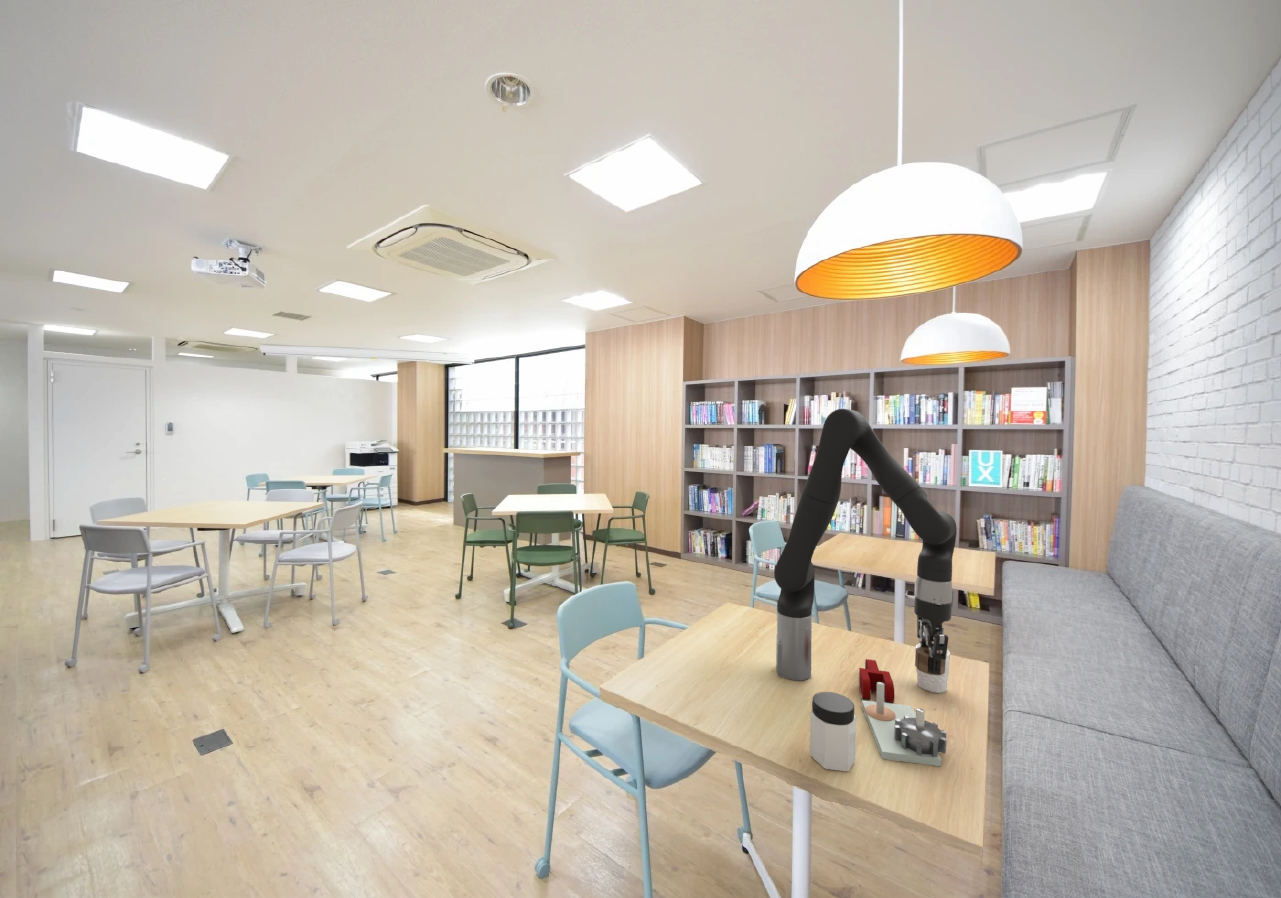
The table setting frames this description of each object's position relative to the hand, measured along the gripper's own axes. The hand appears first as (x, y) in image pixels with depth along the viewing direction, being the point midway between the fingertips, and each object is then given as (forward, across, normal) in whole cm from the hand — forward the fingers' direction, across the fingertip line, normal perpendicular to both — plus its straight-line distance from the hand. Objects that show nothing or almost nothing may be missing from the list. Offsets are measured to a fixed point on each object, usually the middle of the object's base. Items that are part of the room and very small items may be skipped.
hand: (929, 666), depth 118 cm
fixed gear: (+11, +14, -6) cm, 19 cm away
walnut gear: (+1, 0, 0) cm, 1 cm away
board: (+12, +9, -9) cm, 18 cm away
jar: (+13, +21, -24) cm, 35 cm away
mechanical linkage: (+13, -11, -10) cm, 19 cm away
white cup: (+12, -15, +6) cm, 20 cm away
